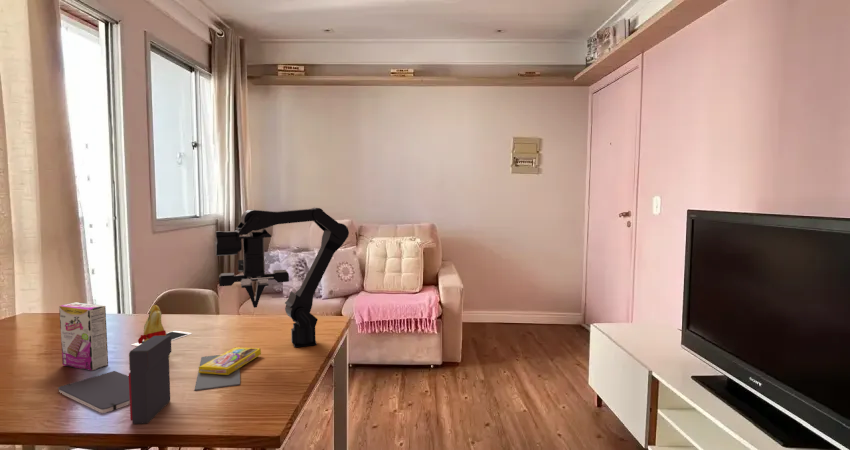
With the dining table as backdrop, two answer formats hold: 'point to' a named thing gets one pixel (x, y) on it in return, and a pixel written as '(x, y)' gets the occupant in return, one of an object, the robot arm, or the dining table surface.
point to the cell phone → (173, 335)
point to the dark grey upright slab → (149, 378)
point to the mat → (215, 377)
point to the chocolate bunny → (153, 325)
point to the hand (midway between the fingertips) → (255, 307)
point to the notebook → (100, 391)
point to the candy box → (230, 361)
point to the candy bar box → (83, 335)
